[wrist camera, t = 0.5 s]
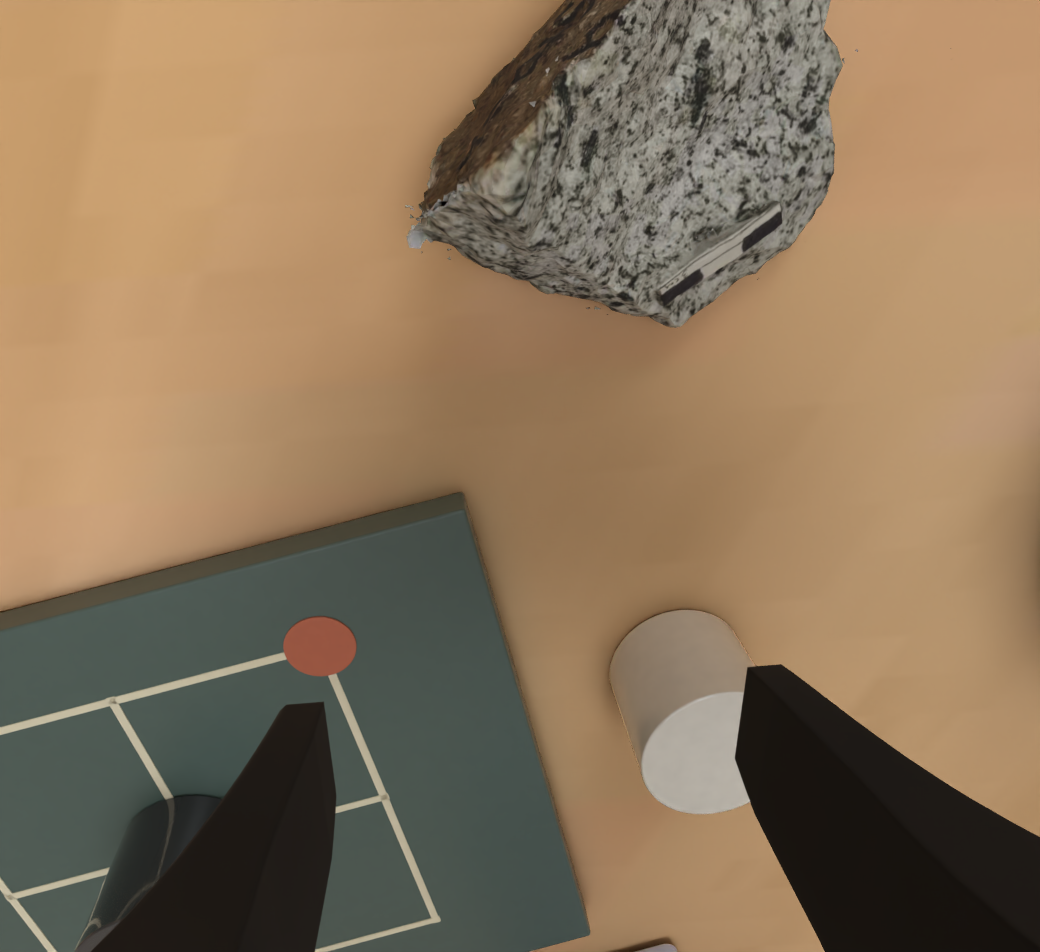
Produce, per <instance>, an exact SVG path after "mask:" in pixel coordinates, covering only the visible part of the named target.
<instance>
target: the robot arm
mask: <svg viewBox="0 0 1040 952" xmlns="http://www.w3.org/2000/svg"><path fill="white" fill-rule="evenodd" d="M735 761H736V764H737V766H738V769H739V772H740V775H741V778H742V781H743V784H744V786H745V789H746V792H747V795H748V797H749V800H750V802H751V805H752V808H753V810H754V813H755V815H756V817H757V819H758V821H759V823H760V825H761V827H762V829H763V831H764V833H765V835H766V837H767V839H768V841H769V843H770V845H771V847H772V849H773V851H774V853H775V855H776V857H777V859H778V861H779V863H780V865H781V867H782V869H783V871H784V873H785V874H786V876H787V878H788V880H789V882H790V884H791V886H792V888H793V890H794V892H795V894H796V896H797V898H798V900H799V902H800V903H801V905H802V907H803V909H804V911H805V913H806V915H807V917H808V919H809V921H810V923H811V925H812V927H813V929H814V931H815V933H816V934H817V936H818V938H819V940H820V942H821V945H822V947H823V949H824V951H825V952H1040V837H1039V836H1037V835H1035V834H1033V833H1031V832H1029V831H1027V830H1025V829H1023V828H1022V827H1020V826H1018V825H1016V824H1014V823H1012V822H1010V821H1009V820H1007V819H1005V818H1003V817H1002V816H1000V815H998V814H997V813H995V812H993V811H991V810H990V809H988V808H986V807H984V806H983V805H981V804H979V803H978V802H976V801H974V800H972V799H971V798H969V797H967V796H966V795H964V794H962V793H961V792H959V791H957V790H956V789H954V788H953V787H951V786H949V785H948V784H946V783H945V782H943V781H942V780H940V779H939V778H937V777H936V776H934V775H933V774H931V773H930V772H928V771H926V770H925V769H923V768H922V767H920V766H919V765H917V764H916V763H914V762H913V761H911V760H910V759H908V758H907V757H906V756H904V755H903V754H901V753H900V752H898V751H897V750H896V749H894V748H893V747H891V746H890V745H888V744H887V743H886V742H884V741H883V740H881V739H880V738H879V737H877V736H876V735H875V734H873V733H872V732H871V731H869V730H868V729H866V728H865V727H864V726H862V725H861V724H860V723H858V722H857V721H856V720H854V719H853V718H852V717H850V716H849V715H848V714H846V713H845V712H844V711H842V710H841V709H840V708H838V707H837V706H836V705H835V704H833V703H832V702H831V701H829V700H828V699H827V698H825V697H824V696H823V695H821V694H820V693H819V692H818V691H816V690H815V689H814V688H812V687H811V686H810V685H808V684H807V683H806V682H805V681H803V680H802V679H801V678H799V677H798V676H797V675H795V674H794V673H792V672H791V671H790V670H788V669H787V668H785V667H784V666H783V665H781V664H780V665H768V666H755V667H747V673H746V680H745V688H744V695H743V702H742V709H741V716H740V723H739V730H738V738H737V745H736V752H735ZM336 797H337V795H336V787H335V780H334V772H333V765H332V758H331V750H330V743H329V735H328V728H327V721H326V713H325V706H324V702H312V703H300V704H287V705H285V706H284V707H283V708H282V709H281V710H280V711H279V713H278V715H277V716H276V718H275V720H274V721H273V723H272V725H271V726H270V728H269V730H268V731H267V733H266V735H265V736H264V738H263V740H262V741H261V743H260V744H259V746H258V747H257V749H256V751H255V752H254V754H253V755H252V757H251V758H250V760H249V761H248V763H247V764H246V766H245V767H244V769H243V770H242V772H241V773H240V775H239V776H238V778H237V779H236V780H235V782H234V783H233V785H232V786H231V788H230V789H229V790H228V792H227V793H226V795H225V796H224V798H223V799H222V800H221V802H220V803H219V805H218V806H217V807H216V809H215V810H214V811H213V813H212V814H211V815H210V817H209V818H208V819H207V821H206V822H205V823H204V824H203V826H202V827H201V828H200V830H199V831H198V832H197V833H196V835H195V836H194V837H193V838H192V840H191V841H190V842H189V844H188V845H187V846H186V847H185V849H184V850H183V851H182V853H181V854H180V855H179V856H178V857H177V859H176V860H175V861H174V862H173V863H172V865H171V866H170V867H169V868H168V869H167V871H166V872H165V873H164V874H163V875H162V876H161V878H160V879H159V880H158V881H157V882H156V883H155V884H154V886H153V887H152V888H151V889H150V890H149V891H148V892H147V893H146V894H145V895H144V897H143V898H142V899H141V900H140V901H139V902H138V903H137V904H136V905H135V906H134V908H133V909H132V910H131V911H130V912H129V913H128V914H127V915H126V916H125V917H124V918H123V919H122V920H121V921H120V922H119V923H118V924H117V925H116V926H115V927H114V928H113V929H112V930H111V931H110V932H109V933H108V934H107V935H106V936H105V937H104V938H103V939H102V940H101V941H100V942H99V943H98V944H97V945H96V946H95V947H94V949H93V950H92V951H91V952H315V948H316V942H317V937H318V932H319V926H320V921H321V916H322V910H323V905H324V900H325V894H326V889H327V883H328V878H329V872H330V866H331V861H332V852H333V840H334V827H335V812H336ZM635 952H677V949H676V947H675V946H673V945H671V944H661V945H658V946H654V947H650V948H647V949H643V950H639V951H635Z"/></svg>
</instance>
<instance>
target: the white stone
mask: <svg viewBox="0 0 1040 952" xmlns="http://www.w3.org/2000/svg"><path fill="white" fill-rule="evenodd" d="M755 666H756V665H755V663H754V662H753V660H752V659H751V657H750V655H749V654H748V652H747V651H746V649H745V648H744V646H743V644H742V643H741V641H740V640H739V638H738V637H737V635H736V633H735V632H734V630H733V629H732V628H731V627H730V626H729V625H728V624H727V623H726V622H724V621H723V620H722V619H720V618H718V617H717V616H714V615H712V614H709V613H706V612H703V611H697V610H675V611H670V612H666V613H662V614H659V615H656V616H654V617H652V618H650V619H648V620H646V621H644V622H643V623H641V624H640V625H638V626H637V627H635V628H634V629H633V630H632V631H631V632H630V633H629V634H627V636H626V637H625V638H624V639H623V640H622V641H621V643H620V644H619V646H618V647H617V649H616V651H615V653H614V655H613V658H612V661H611V665H610V674H609V679H610V685H611V688H612V692H613V694H614V697H615V700H616V703H617V706H618V709H619V712H620V715H621V718H622V720H623V723H624V726H625V729H626V732H627V735H628V738H629V741H630V744H631V746H632V749H633V752H634V755H635V758H636V761H637V764H638V767H639V770H640V772H641V775H642V778H643V781H644V783H645V785H646V787H647V789H648V790H649V792H650V793H651V794H652V795H653V796H654V797H655V798H656V799H657V800H658V801H659V802H661V803H662V804H664V805H665V806H667V807H669V808H671V809H674V810H677V811H680V812H684V813H689V814H714V813H720V812H725V811H729V810H732V809H735V808H738V807H740V806H742V805H745V804H747V803H749V802H750V800H749V797H748V795H747V792H746V789H745V786H744V784H743V781H742V778H741V775H740V772H739V769H738V766H737V764H736V761H735V752H736V745H737V738H738V730H739V723H740V716H741V709H742V702H743V695H744V688H745V680H746V673H747V667H755Z"/></svg>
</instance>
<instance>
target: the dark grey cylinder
mask: <svg viewBox="0 0 1040 952" xmlns="http://www.w3.org/2000/svg"><path fill="white" fill-rule="evenodd" d="M221 800H222V799H220V798H216V797H210V796H200V795H188V796H179V797H174V798H169V799H166V800H163V801H160V802H157V803H155V804H153V805H151V806H149V807H148V808H146V809H144V810H143V811H142V812H140V813H139V814H138V815H137V816H136V817H135V818H134V819H133V820H132V821H131V822H130V824H129V825H128V827H127V828H126V830H125V833H124V835H123V837H122V840H121V842H120V844H119V847H118V849H117V851H116V854H115V856H114V858H113V861H112V863H111V866H110V868H109V870H108V873H107V875H106V877H105V880H104V882H103V884H102V887H101V889H100V891H99V894H98V896H97V899H96V901H95V903H94V906H93V908H92V910H91V913H90V915H89V917H88V920H87V922H86V924H85V927H84V929H83V932H82V934H81V936H80V939H79V941H78V943H77V946H76V948H75V950H74V952H91V951H92V950H93V949H94V947H95V946H96V945H97V944H98V943H99V942H100V941H101V940H102V939H103V938H104V937H105V936H106V935H107V934H108V933H109V932H110V931H111V930H112V929H113V928H114V927H115V926H116V925H117V924H118V923H119V922H120V921H121V920H122V919H123V918H124V917H125V916H126V915H127V914H128V913H129V912H130V911H131V910H132V909H133V908H134V906H135V905H136V904H137V903H138V902H139V901H140V900H141V899H142V898H143V897H144V895H145V894H146V893H147V892H148V891H149V890H150V889H151V888H152V887H153V886H154V884H155V883H156V882H157V881H158V880H159V879H160V878H161V876H162V875H163V874H164V873H165V872H166V871H167V869H168V868H169V867H170V866H171V865H172V863H173V862H174V861H175V860H176V859H177V857H178V856H179V855H180V854H181V853H182V851H183V850H184V849H185V847H186V846H187V845H188V844H189V842H190V841H191V840H192V838H193V837H194V836H195V835H196V833H197V832H198V831H199V830H200V828H201V827H202V826H203V824H204V823H205V822H206V821H207V819H208V818H209V817H210V815H211V814H212V813H213V811H214V810H215V809H216V807H217V806H218V805H219V803H220V802H221Z"/></svg>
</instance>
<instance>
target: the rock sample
mask: <svg viewBox="0 0 1040 952" xmlns="http://www.w3.org/2000/svg"><path fill="white" fill-rule="evenodd" d="M829 5H830V0H566V1H565V2H564V3H563V4H562V5H561V6H560V7H559V8H558V10H557V11H556V12H555V13H554V14H553V15H552V16H551V17H550V19H549V20H548V21H547V22H546V23H545V24H544V25H543V26H542V27H541V28H540V29H539V30H538V31H537V32H536V33H534V35H533V36H532V38H531V40H530V41H529V43H528V44H527V45H526V47H525V48H524V49H523V50H522V51H521V52H520V53H519V54H518V56H517V57H516V58H513V60H512V61H511V63H509V64H508V65H506V66H505V67H504V68H503V69H502V70H501V71H500V72H499V73H498V74H497V75H496V76H495V77H493V78H492V80H491V83H490V84H489V85H488V87H487V88H486V89H485V90H484V91H483V93H482V94H481V95H480V96H479V97H478V98H476V99H475V100H473V104H474V107H475V109H474V110H473V111H472V112H470V113H469V114H468V115H466V117H465V118H464V120H463V121H462V122H461V124H460V125H459V126H458V127H457V129H454V131H453V132H452V133H451V134H450V135H448V136H447V137H446V138H444V139H443V141H442V143H441V144H440V145H439V147H438V149H437V152H436V156H435V157H434V158H433V159H432V162H431V165H430V169H431V173H430V179H429V182H428V183H427V185H428V190H427V191H426V192H425V193H424V201H423V202H421V204H419V208H420V209H421V210H422V215H421V216H420V217H419V218H416V220H417V221H420V219H421V223H420V222H419V223H418V224H417V225H416V226H415V225H411V230H410V231H409V233H408V235H407V241H408V244H409V248H417V249H420V248H421V245H422V243H424V241H425V240H426V239H427V240H428V241H429V242H430V243H431V242H433V241H439V242H443V243H448V244H450V245H452V246H454V247H455V248H456V249H457V250H458V251H459V252H460V253H461V254H462V255H463V256H465V257H466V258H468V259H470V260H472V261H473V262H475V263H477V264H479V265H481V266H482V267H484V268H489V269H491V270H493V271H495V272H498V273H502V274H506V275H509V276H511V277H512V278H514V279H516V280H526V281H530V283H531V284H532V285H533V286H534V287H536V288H537V289H538V290H539V291H541V292H544V293H546V294H554V293H557V294H562V295H567V296H572V297H577V298H582V299H589V300H593V301H597V302H601V303H603V304H604V305H606V306H608V307H609V308H610V309H611V310H613V311H616V312H620V313H624V314H630V315H633V316H649V317H650V318H652V319H653V320H655V321H657V322H659V323H661V324H663V325H665V326H668V327H674V328H677V327H681V326H682V325H683V324H684V323H685V322H686V321H687V320H688V319H689V318H690V317H691V316H692V315H694V314H695V313H697V312H698V311H699V310H701V309H702V308H704V307H705V306H707V305H708V304H710V303H711V302H713V301H714V300H715V299H716V298H717V297H718V296H720V295H721V294H722V293H723V292H724V291H726V290H727V289H728V288H729V287H730V286H731V285H732V284H733V283H734V282H736V281H737V280H738V279H740V278H742V277H744V276H746V275H750V274H755V273H756V272H757V271H758V270H759V269H760V268H761V267H762V266H763V265H764V264H765V263H766V262H767V261H768V260H770V259H771V258H773V257H774V256H775V255H777V254H778V253H779V252H781V251H783V250H785V249H787V248H789V247H790V246H791V245H792V244H793V243H794V242H795V240H796V238H797V236H798V235H799V234H800V233H801V231H802V230H803V229H804V227H805V225H806V224H807V223H808V222H809V221H810V220H811V219H812V217H813V215H814V214H815V211H816V209H817V208H818V207H819V206H820V205H821V204H822V202H823V200H824V198H825V196H826V194H827V192H828V187H829V184H830V180H831V177H832V175H833V173H834V150H835V144H834V143H833V135H832V125H831V118H830V114H829V110H828V109H829V97H830V95H831V92H832V89H833V87H834V84H835V81H836V79H837V77H838V75H839V73H840V70H841V68H842V62H841V59H840V56H839V52H838V49H837V47H836V45H835V44H834V43H833V41H832V40H831V39H830V37H829V36H828V35H827V33H826V32H825V31H824V29H823V28H824V25H825V21H826V17H827V13H828V9H829ZM950 49H951V48H950ZM855 51H857V52H858V50H855ZM842 61H843V62H844V58H843V59H842ZM405 207H414V206H408V205H405ZM410 209H412V210H413V208H410ZM410 218H414V217H413V216H412V215H411V214H410ZM447 250H451V249H447ZM421 253H423V252H422V251H421ZM448 259H449V260H450V257H449V258H448ZM757 280H758V279H757ZM589 308H590V307H589ZM589 308H587V309H589ZM595 309H600V308H597V307H595ZM607 315H608V314H607Z"/></svg>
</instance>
